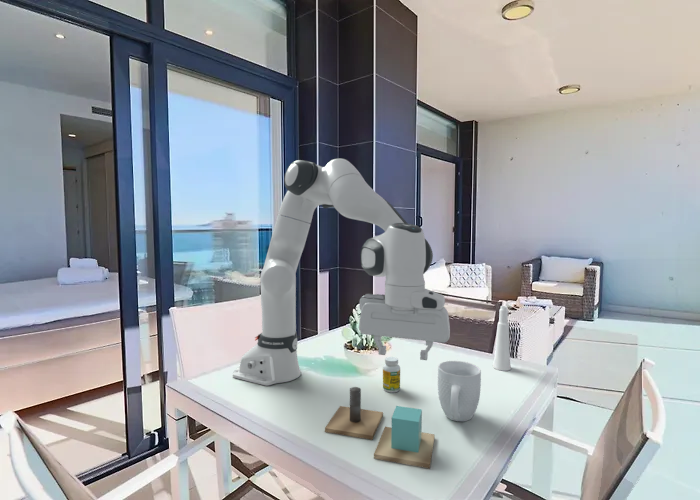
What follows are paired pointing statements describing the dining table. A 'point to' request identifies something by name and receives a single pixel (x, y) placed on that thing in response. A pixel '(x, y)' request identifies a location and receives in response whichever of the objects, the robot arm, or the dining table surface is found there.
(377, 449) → the oak pad
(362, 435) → the post stand
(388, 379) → the supplement bottle
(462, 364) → the mug
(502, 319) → the cosmetic bottle
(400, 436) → the teal rectangular block
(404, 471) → the dining table surface
